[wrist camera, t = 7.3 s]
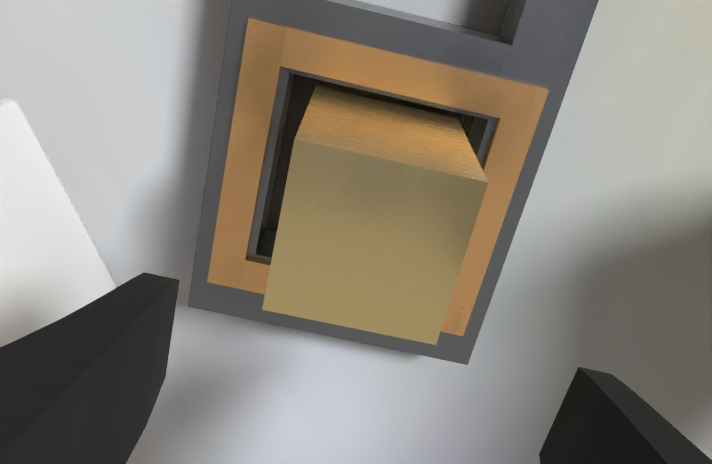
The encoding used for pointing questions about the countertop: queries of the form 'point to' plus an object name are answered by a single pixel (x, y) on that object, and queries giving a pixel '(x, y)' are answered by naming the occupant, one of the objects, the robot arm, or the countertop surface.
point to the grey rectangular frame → (395, 79)
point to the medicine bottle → (40, 237)
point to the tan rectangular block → (374, 214)
